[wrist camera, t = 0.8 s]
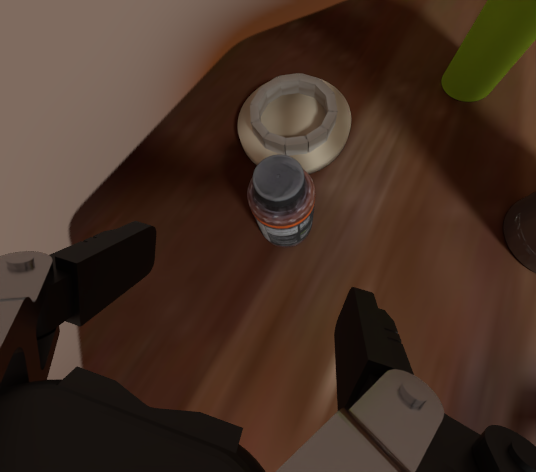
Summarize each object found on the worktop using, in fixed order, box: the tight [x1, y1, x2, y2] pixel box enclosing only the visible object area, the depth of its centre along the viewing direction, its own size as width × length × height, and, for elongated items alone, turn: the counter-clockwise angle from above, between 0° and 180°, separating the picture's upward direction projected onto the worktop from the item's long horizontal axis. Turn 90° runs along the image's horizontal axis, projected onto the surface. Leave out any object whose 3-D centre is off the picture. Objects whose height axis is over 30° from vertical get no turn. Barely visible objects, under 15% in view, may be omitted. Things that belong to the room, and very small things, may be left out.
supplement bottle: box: [247, 154, 315, 247], centre depth 25 cm, size 6×6×11 cm
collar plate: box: [238, 73, 351, 174], centre depth 33 cm, size 14×14×4 cm
